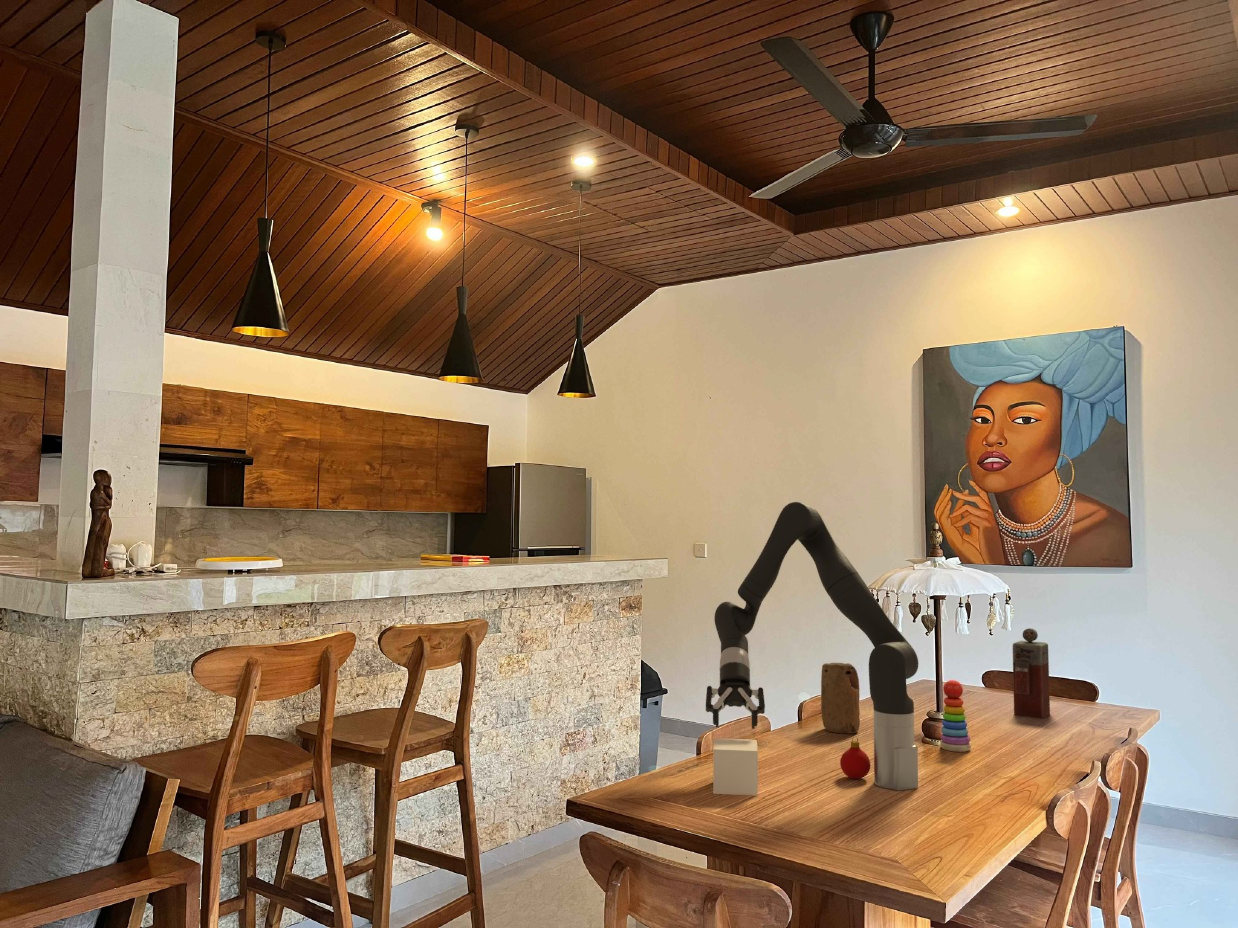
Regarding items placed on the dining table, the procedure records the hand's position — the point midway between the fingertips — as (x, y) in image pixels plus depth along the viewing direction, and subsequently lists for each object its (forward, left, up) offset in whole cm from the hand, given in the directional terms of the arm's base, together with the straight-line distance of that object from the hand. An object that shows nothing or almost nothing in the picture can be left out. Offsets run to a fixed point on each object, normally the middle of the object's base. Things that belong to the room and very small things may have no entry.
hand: (735, 726), depth 213 cm
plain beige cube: (0, 0, -8) cm, 8 cm away
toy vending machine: (+27, -132, -13) cm, 135 cm away
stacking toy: (+3, -74, -13) cm, 75 cm away
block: (+33, -59, -13) cm, 69 cm away
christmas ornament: (-9, -29, -13) cm, 33 cm away
